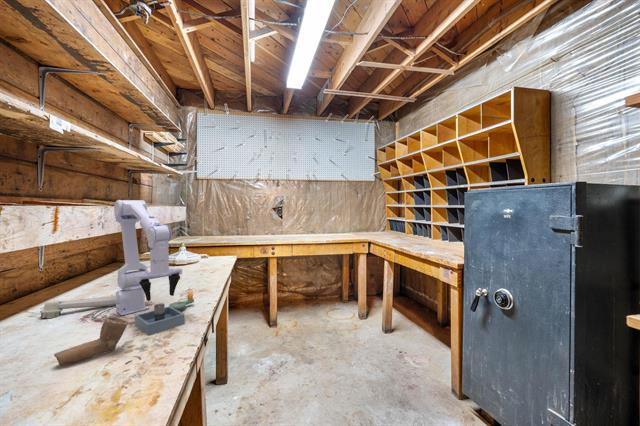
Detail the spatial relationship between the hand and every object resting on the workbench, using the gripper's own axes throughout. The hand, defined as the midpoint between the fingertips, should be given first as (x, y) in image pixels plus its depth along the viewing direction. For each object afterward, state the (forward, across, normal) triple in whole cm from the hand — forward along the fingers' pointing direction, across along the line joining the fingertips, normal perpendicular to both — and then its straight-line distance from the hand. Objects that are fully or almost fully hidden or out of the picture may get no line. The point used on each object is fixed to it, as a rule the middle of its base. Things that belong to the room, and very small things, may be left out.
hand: (160, 297), depth 104 cm
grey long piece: (+10, -16, +36) cm, 41 cm away
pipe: (+10, -21, -10) cm, 25 cm away
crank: (+8, +11, +9) cm, 17 cm away
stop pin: (+8, 0, 0) cm, 8 cm away
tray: (+9, 0, 0) cm, 9 cm away
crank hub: (+9, +9, +9) cm, 16 cm away
